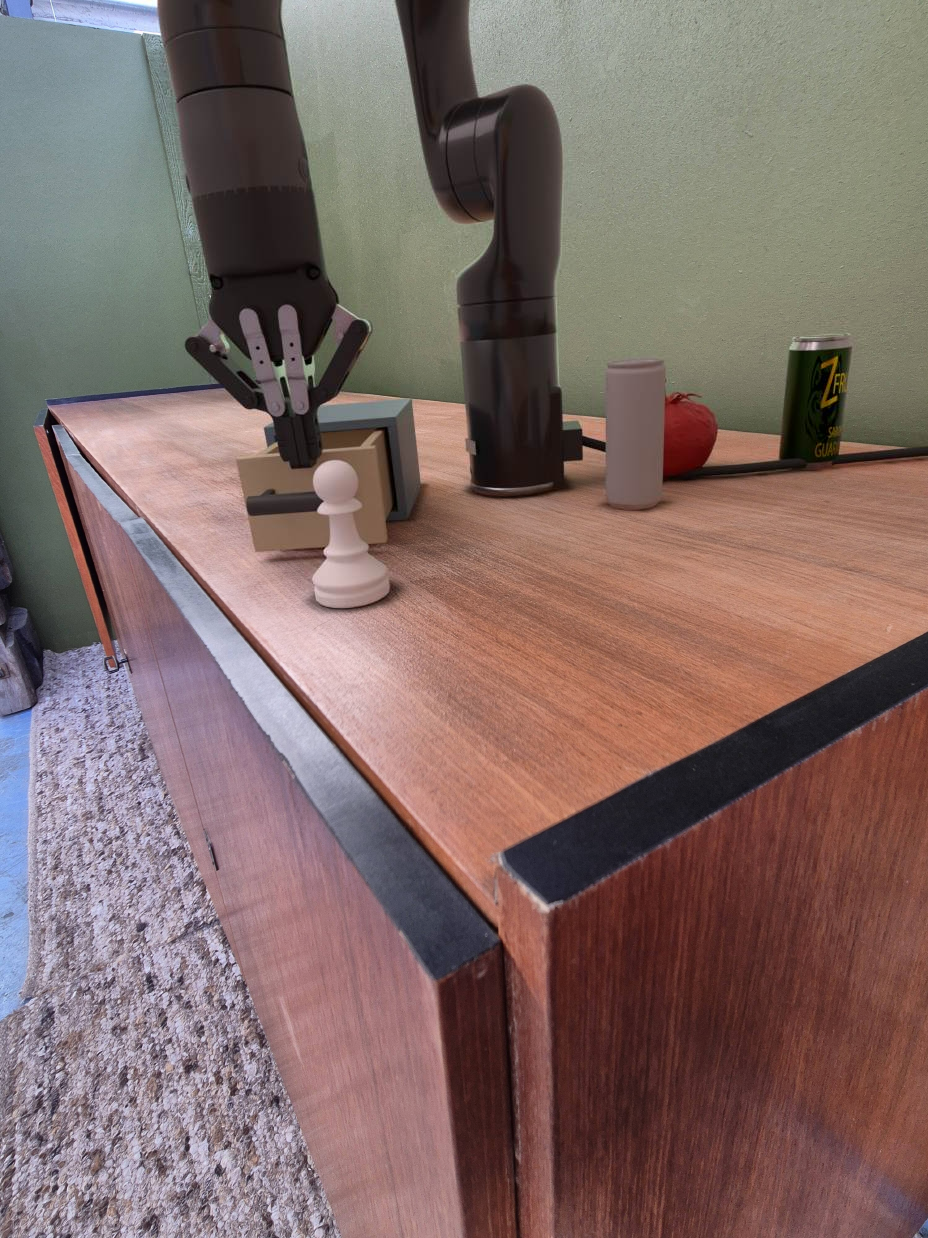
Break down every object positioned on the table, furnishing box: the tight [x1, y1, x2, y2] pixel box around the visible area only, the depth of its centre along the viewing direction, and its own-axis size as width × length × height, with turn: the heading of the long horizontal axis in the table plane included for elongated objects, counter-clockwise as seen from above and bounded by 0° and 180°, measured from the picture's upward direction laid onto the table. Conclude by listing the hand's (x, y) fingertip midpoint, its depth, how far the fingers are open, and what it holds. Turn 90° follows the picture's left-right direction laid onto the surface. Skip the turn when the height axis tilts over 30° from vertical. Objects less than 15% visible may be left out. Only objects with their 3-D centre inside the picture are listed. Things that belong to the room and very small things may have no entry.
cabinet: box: [263, 397, 422, 522], centre depth 69 cm, size 14×12×9 cm
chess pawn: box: [311, 460, 391, 609], centre depth 46 cm, size 5×5×9 cm
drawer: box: [235, 427, 396, 553], centre depth 58 cm, size 17×10×7 cm, turn 178°
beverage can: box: [604, 357, 667, 511], centre depth 61 cm, size 5×5×12 cm
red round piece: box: [663, 378, 719, 478], centre depth 71 cm, size 10×10×9 cm
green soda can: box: [778, 332, 853, 471], centre depth 69 cm, size 5×5×12 cm
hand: (303, 466), depth 52 cm, fingers closed
